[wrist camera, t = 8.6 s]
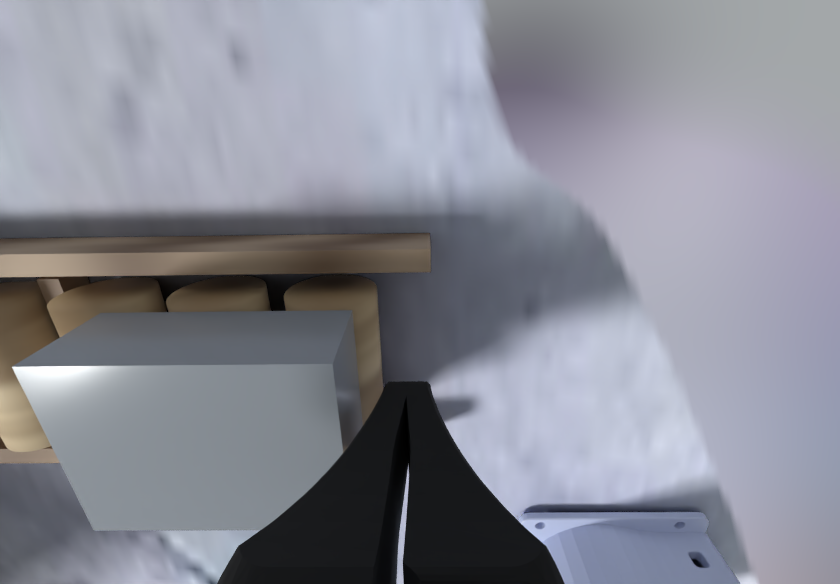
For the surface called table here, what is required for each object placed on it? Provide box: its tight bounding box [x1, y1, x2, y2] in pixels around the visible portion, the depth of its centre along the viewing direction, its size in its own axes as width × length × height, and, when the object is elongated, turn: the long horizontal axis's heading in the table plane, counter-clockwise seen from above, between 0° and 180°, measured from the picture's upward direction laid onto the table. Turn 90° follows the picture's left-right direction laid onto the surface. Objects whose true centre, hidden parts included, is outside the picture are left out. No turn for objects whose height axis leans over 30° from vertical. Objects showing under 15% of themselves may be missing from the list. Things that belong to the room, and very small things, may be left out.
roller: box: [0, 281, 60, 452], centre depth 16 cm, size 6×3×3 cm, turn 1°
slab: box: [12, 310, 363, 531], centre depth 12 cm, size 8×6×3 cm
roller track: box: [0, 233, 431, 463], centre depth 15 cm, size 19×9×3 cm, turn 91°
